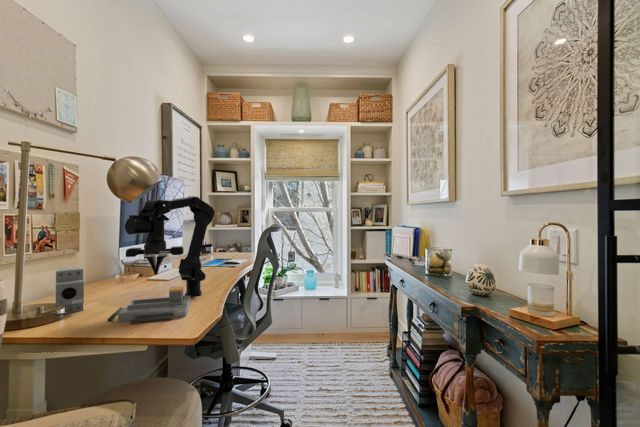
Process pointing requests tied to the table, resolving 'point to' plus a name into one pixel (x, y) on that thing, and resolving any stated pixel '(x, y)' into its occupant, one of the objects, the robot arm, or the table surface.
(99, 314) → the table surface
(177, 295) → the toggle
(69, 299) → the circuit breaker
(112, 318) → the dark grey rod
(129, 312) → the panel
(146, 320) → the charcoal thin cylinder
